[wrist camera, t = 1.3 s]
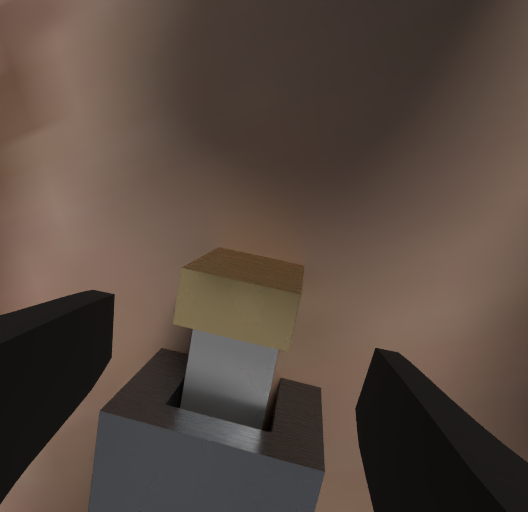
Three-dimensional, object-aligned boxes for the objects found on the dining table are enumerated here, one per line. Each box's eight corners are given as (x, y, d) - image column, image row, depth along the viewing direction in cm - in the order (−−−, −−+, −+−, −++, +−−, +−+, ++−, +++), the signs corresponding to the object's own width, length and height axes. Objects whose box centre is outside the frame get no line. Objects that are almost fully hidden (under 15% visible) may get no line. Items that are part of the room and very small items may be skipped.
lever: (267, 434, 22) (250, 521, 16) (190, 414, 22) (147, 491, 16) (304, 265, 20) (301, 294, 14) (219, 247, 20) (181, 267, 14)
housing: (296, 486, 22) (290, 603, 16) (147, 445, 23) (84, 539, 17) (320, 387, 21) (324, 472, 14) (161, 348, 22) (99, 410, 15)
